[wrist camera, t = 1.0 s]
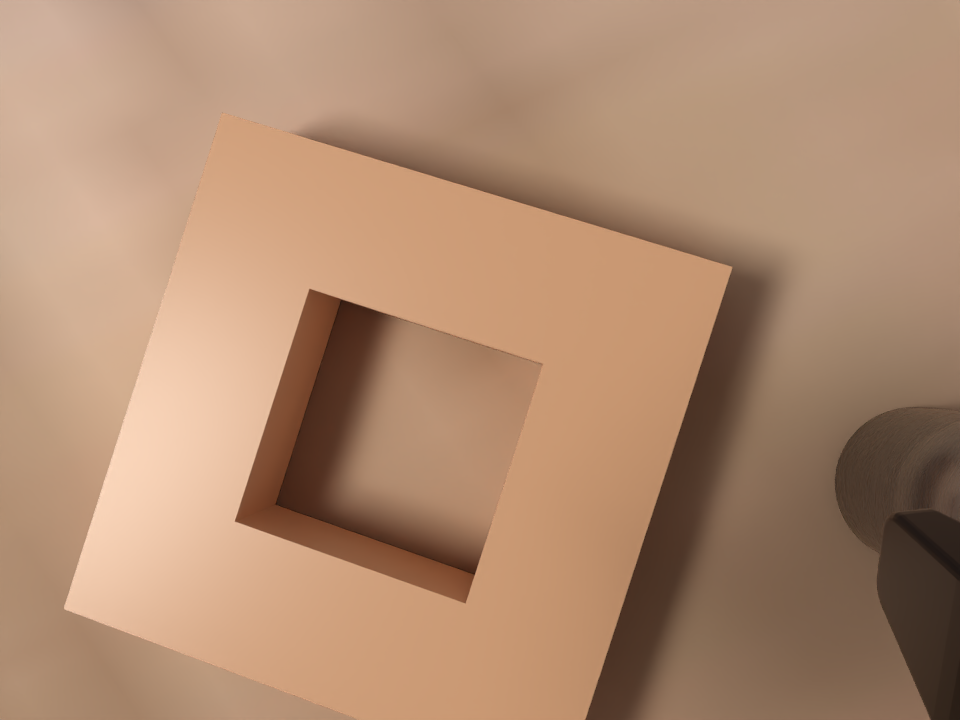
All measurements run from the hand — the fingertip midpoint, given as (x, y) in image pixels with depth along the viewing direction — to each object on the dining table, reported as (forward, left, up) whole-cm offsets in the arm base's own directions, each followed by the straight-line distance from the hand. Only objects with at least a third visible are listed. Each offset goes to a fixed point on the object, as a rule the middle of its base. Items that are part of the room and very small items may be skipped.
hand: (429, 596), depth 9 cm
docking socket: (0, +3, -16) cm, 16 cm away
